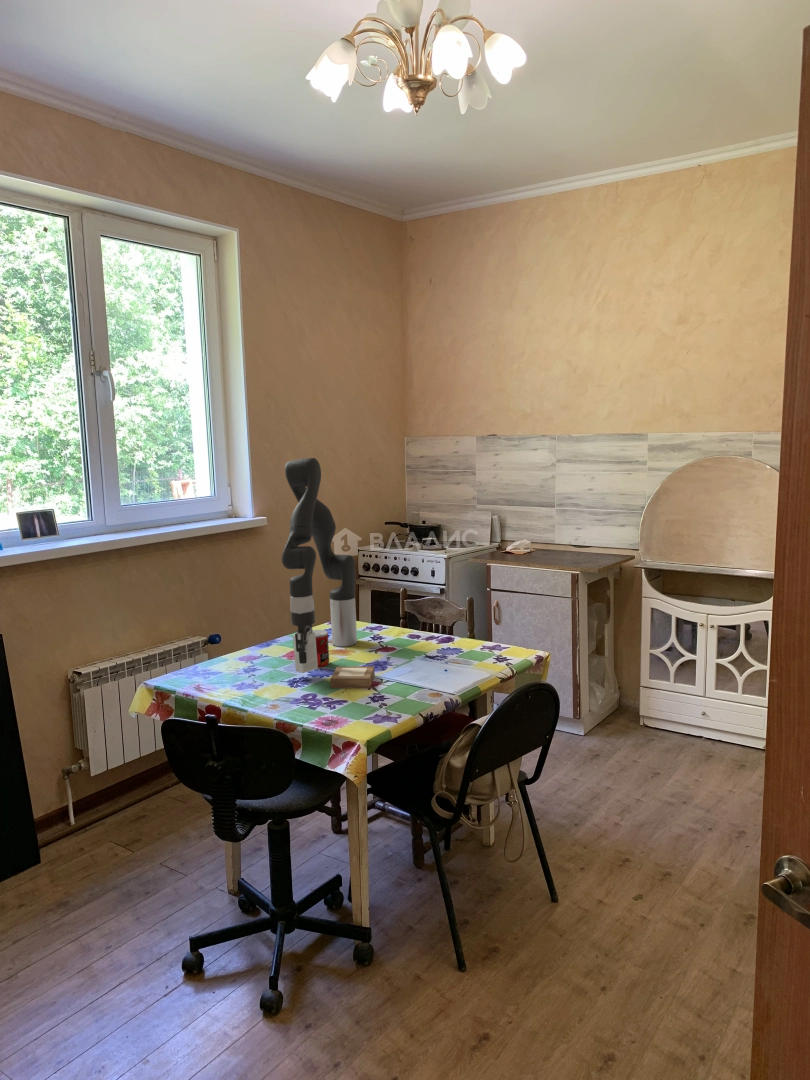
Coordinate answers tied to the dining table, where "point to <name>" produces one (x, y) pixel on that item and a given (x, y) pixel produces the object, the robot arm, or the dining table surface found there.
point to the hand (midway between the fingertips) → (305, 659)
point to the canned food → (322, 647)
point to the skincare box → (307, 655)
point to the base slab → (352, 677)
